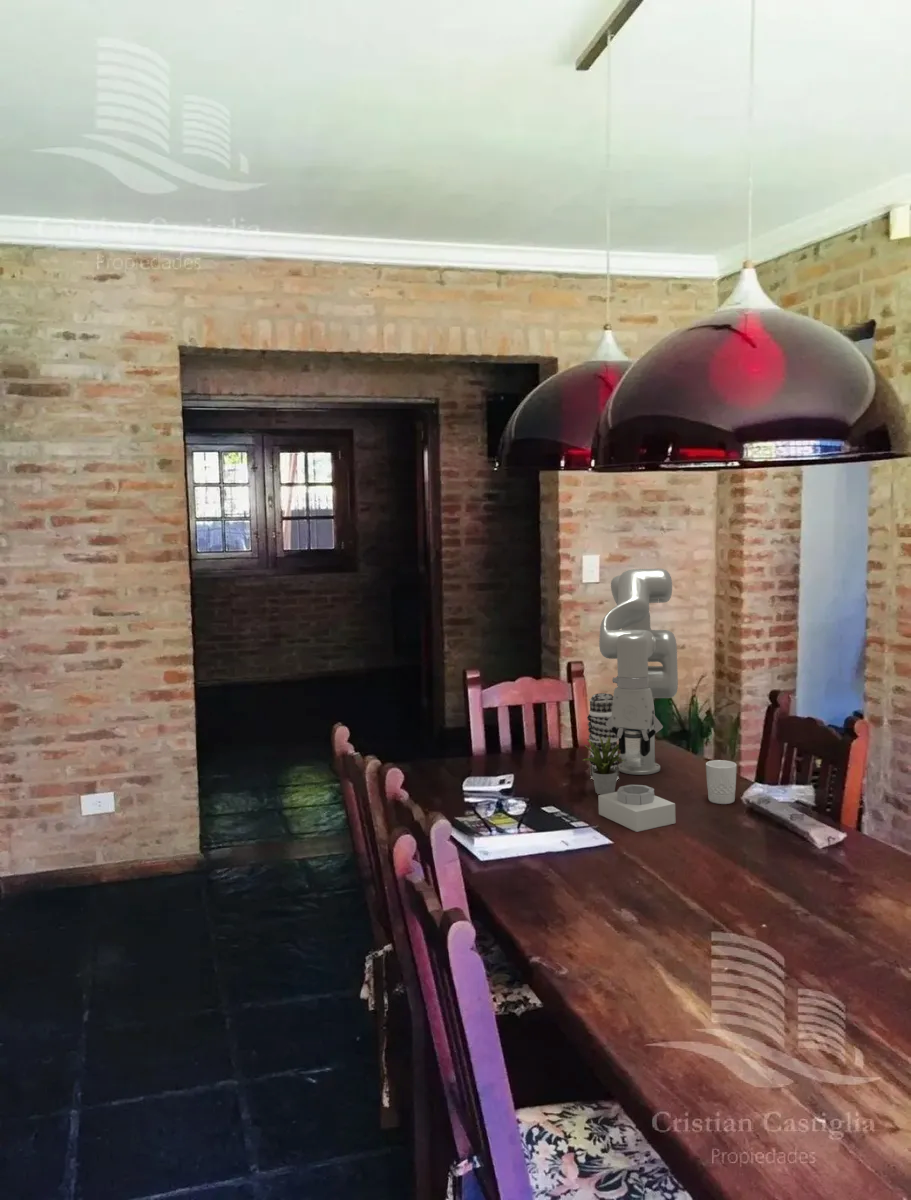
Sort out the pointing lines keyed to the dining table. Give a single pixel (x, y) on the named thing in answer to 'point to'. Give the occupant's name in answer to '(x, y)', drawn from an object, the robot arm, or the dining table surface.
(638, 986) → the dining table surface
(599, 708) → the decorative candle
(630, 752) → the lens
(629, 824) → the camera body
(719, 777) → the white cup
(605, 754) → the house plant
